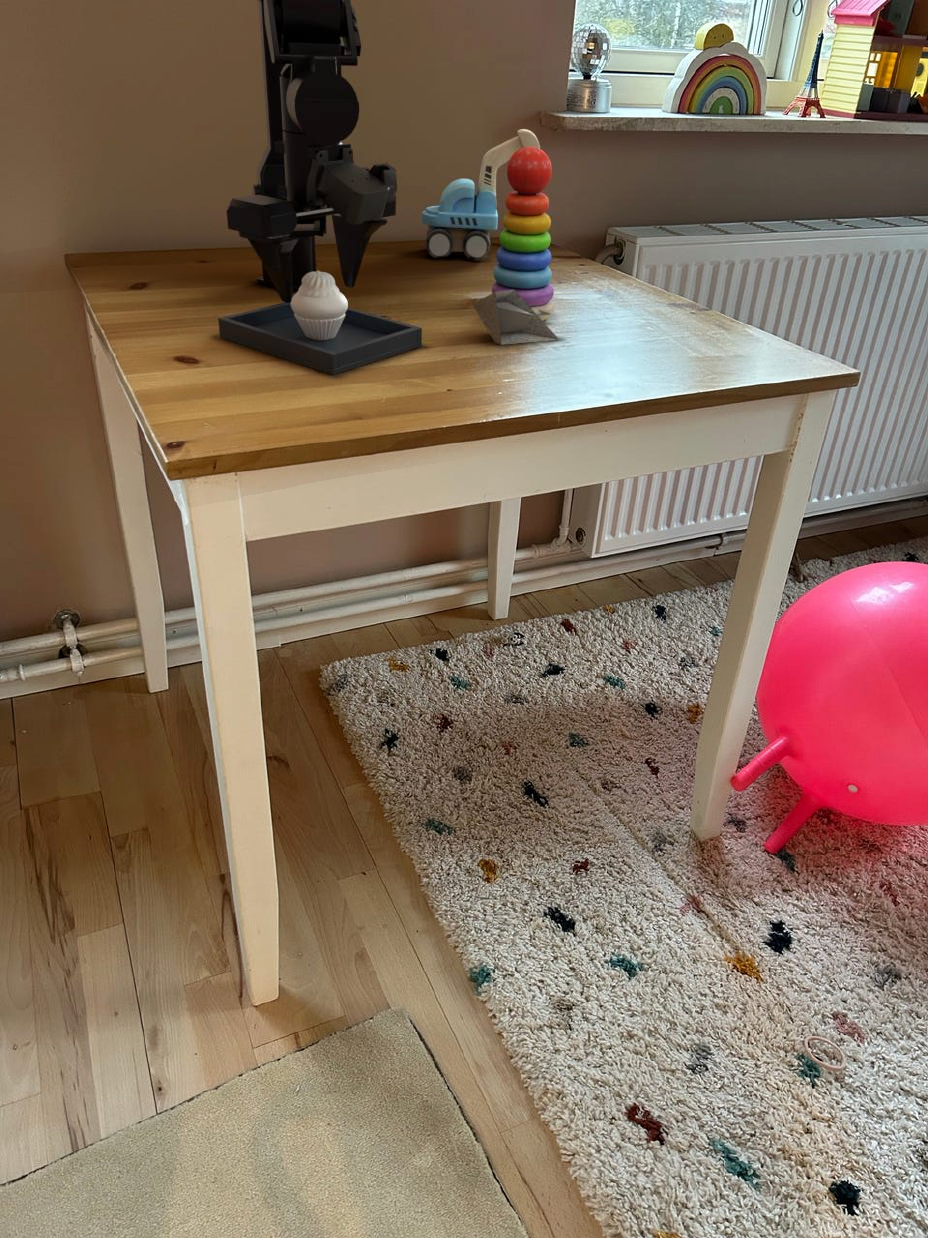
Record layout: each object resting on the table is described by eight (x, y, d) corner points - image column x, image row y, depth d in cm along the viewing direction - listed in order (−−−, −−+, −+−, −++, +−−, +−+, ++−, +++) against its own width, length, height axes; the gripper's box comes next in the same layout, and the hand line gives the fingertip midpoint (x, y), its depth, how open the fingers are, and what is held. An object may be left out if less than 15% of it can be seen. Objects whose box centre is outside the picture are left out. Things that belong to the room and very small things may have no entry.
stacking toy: (484, 306, 120) (493, 140, 109) (547, 307, 120) (561, 142, 110) (491, 324, 113) (501, 149, 103) (557, 325, 114) (574, 152, 103)
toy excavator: (533, 264, 140) (543, 134, 131) (420, 259, 140) (422, 128, 130) (530, 251, 147) (539, 127, 138) (423, 246, 147) (424, 121, 138)
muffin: (315, 324, 108) (312, 260, 104) (359, 334, 105) (358, 269, 102) (280, 337, 103) (276, 270, 99) (325, 348, 101) (323, 280, 97)
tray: (310, 314, 114) (309, 296, 112) (422, 346, 105) (422, 327, 103) (219, 337, 104) (217, 318, 103) (333, 375, 95) (332, 354, 94)
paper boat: (523, 313, 113) (587, 308, 107) (511, 365, 113) (574, 363, 107) (458, 268, 104) (524, 259, 98) (445, 324, 104) (510, 319, 98)
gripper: (298, 147, 83) (307, 327, 91) (436, 133, 95) (433, 293, 104) (215, 133, 88) (231, 304, 97) (356, 122, 101) (359, 274, 109)
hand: (319, 294), depth 102 cm, fingers open, 9 cm apart
